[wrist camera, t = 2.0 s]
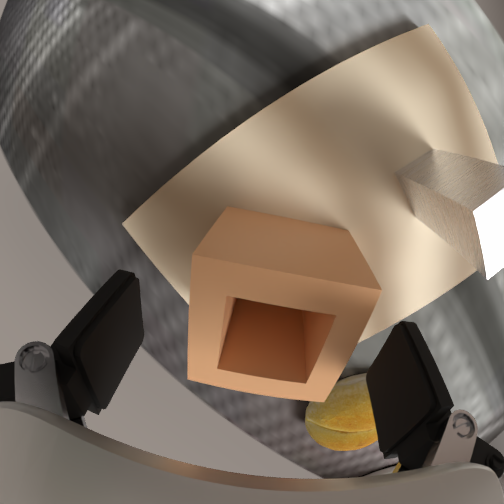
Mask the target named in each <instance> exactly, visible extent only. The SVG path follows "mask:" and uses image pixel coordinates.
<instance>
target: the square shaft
mask: <svg viewBox="0 0 504 504" xmlns="http://www.w3.org/2000/svg"><path fill="white" fill-rule="evenodd" d="M394 173H395V175H396V177H397V179H398V181H399V183H400V185H401V187H402V189H403V191H404V194H405V196H406V198H407V200H408V202H409V205H410V207H411V209H412V211H413V214H414V216H415V218H417V219H418V220H419V221H421V222H422V223H423V224H425V225H426V226H427V227H428V228H430V229H431V230H432V231H433V232H435V233H436V234H437V235H438V236H439V237H441V238H442V239H443V240H444V241H445V242H447V243H448V244H449V245H450V246H451V247H452V248H454V249H455V250H456V251H457V252H458V253H459V254H460V255H462V256H463V257H464V258H465V259H466V260H467V261H468V262H469V263H470V264H471V265H473V266H474V267H475V268H476V269H477V270H478V271H479V272H480V273H481V274H482V275H483V276H484V277H485V278H486V279H487V280H488V279H489V278H490V277H492V276H493V275H494V274H495V273H497V272H498V271H499V270H500V269H501V268H503V267H504V166H502V165H499V164H495V163H492V162H488V161H484V160H481V159H477V158H473V157H469V156H465V155H461V154H456V153H452V152H447V151H442V150H437V149H431V150H430V151H428V152H427V153H425V154H423V155H422V156H420V157H419V158H417V159H415V160H414V161H412V162H411V163H409V164H407V165H406V166H404V167H402V168H401V169H399V170H398V171H396V172H394Z"/></svg>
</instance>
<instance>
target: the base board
mask: <svg viewBox="0 0 504 504" xmlns="http://www.w3.org/2000/svg"><path fill="white" fill-rule="evenodd" d="M431 149H437V150H442V151H447V152H452V153H456V154H461V155H465V156H469V157H473V158H477V159H481V160H484V161H488V162H492V163H495V164H498V162H497V159H496V156H495V153H494V150H493V147H492V144H491V141H490V138H489V136H488V133H487V130H486V128H485V125H484V123H483V120H482V118H481V116H480V113H479V111H478V109H477V106H476V104H475V102H474V100H473V98H472V96H471V94H470V92H469V89H468V87H467V86H466V84H465V82H464V80H463V78H462V76H461V74H460V72H459V71H458V69H457V67H456V65H455V64H454V62H453V60H452V59H451V57H450V55H449V54H448V52H447V50H446V49H445V47H444V46H443V44H442V43H441V41H440V40H439V38H438V37H437V35H436V34H435V32H434V31H433V29H432V28H431V27H430V25H429V24H427V25H424V26H421V27H419V28H416V29H413V30H411V31H408V32H406V33H403V34H401V35H398V36H396V37H394V38H391V39H389V40H387V41H384V42H382V43H380V44H378V45H376V46H373V47H371V48H369V49H367V50H365V51H363V52H361V53H359V54H357V55H355V56H353V57H351V58H349V59H347V60H345V61H343V62H341V63H339V64H337V65H336V66H334V67H332V68H330V69H328V70H326V71H325V72H323V73H321V74H319V75H317V76H316V77H314V78H312V79H310V80H309V81H307V82H305V83H304V84H302V85H300V86H299V87H297V88H295V89H294V90H292V91H290V92H289V93H287V94H286V95H284V96H282V97H281V98H279V99H278V100H276V101H275V102H273V103H272V104H270V105H269V106H267V107H265V108H264V109H262V110H261V111H260V112H258V113H257V114H255V115H254V116H252V117H251V118H249V119H248V120H246V121H245V122H244V123H242V124H241V125H239V126H238V127H237V128H235V129H234V130H232V131H231V132H230V133H228V134H227V135H226V136H224V137H223V138H222V139H220V140H219V141H218V142H216V143H215V144H214V145H212V146H211V147H210V148H208V149H207V150H206V151H205V152H203V153H202V154H201V155H199V156H198V157H197V158H196V159H194V160H193V161H192V162H191V163H190V164H188V165H187V166H186V167H185V168H183V169H182V170H181V171H180V172H179V173H177V174H176V175H175V176H174V177H173V178H172V179H170V180H169V181H168V182H167V183H166V184H165V185H163V186H162V187H161V188H160V189H159V190H158V191H157V192H155V193H154V194H153V195H152V196H151V197H150V198H149V199H148V200H147V201H146V202H144V203H143V204H142V205H141V206H140V207H139V208H138V209H137V210H136V211H135V212H134V213H133V214H132V215H131V216H130V217H128V218H127V219H126V220H125V221H124V222H123V223H122V225H123V226H124V227H125V229H126V230H127V231H128V232H129V234H130V235H131V236H132V238H133V239H134V240H135V241H136V243H137V244H138V245H139V246H140V248H141V249H142V250H143V251H144V253H145V254H146V255H147V256H148V258H149V259H150V260H151V261H152V262H153V264H154V265H155V266H156V267H157V268H158V270H159V271H160V272H161V273H162V274H163V276H164V277H165V278H166V279H167V280H168V281H169V283H170V284H171V285H172V286H173V287H174V288H175V289H176V291H177V292H178V293H179V294H180V295H181V296H182V297H183V299H184V300H185V301H186V302H187V303H188V304H189V299H190V280H191V264H192V254H193V252H194V251H195V250H196V248H197V247H198V245H199V244H200V243H201V241H202V240H203V238H204V237H205V236H206V234H207V233H208V232H209V230H210V229H211V227H212V226H213V225H214V223H215V222H216V221H217V219H218V218H219V217H220V215H221V214H222V213H223V211H224V210H225V209H226V207H227V206H228V207H234V208H240V209H245V210H251V211H256V212H261V213H266V214H272V215H277V216H282V217H287V218H292V219H297V220H302V221H307V222H311V223H316V224H321V225H325V226H330V227H335V228H339V229H344V230H348V231H349V232H350V234H351V235H352V237H353V239H354V240H355V242H356V244H357V246H358V247H359V249H360V251H361V253H362V254H363V256H364V258H365V260H366V261H367V263H368V265H369V267H370V269H371V270H372V272H373V274H374V276H375V278H376V280H377V281H378V283H379V285H380V287H381V289H382V292H381V294H380V297H379V299H378V301H377V303H376V306H375V308H374V310H373V312H372V315H371V317H370V319H369V321H368V323H367V325H366V327H365V329H364V331H363V333H362V335H361V337H360V339H359V341H358V343H359V342H361V341H363V340H365V339H367V338H369V337H371V336H373V335H374V334H376V333H378V332H380V331H382V330H384V329H386V328H387V327H389V326H391V325H393V324H395V323H396V322H398V321H400V320H402V319H403V318H405V317H407V316H409V315H410V314H412V313H414V312H415V311H417V310H419V309H420V308H422V307H424V306H425V305H427V304H428V303H430V302H432V301H433V300H435V299H436V298H438V297H439V296H441V295H442V294H444V293H445V292H447V291H448V290H450V289H451V288H453V287H454V286H456V285H457V284H459V283H460V282H461V281H463V280H464V279H466V278H467V277H468V276H470V275H471V274H472V273H474V272H475V271H476V270H477V269H476V268H475V267H474V266H473V265H471V264H470V263H469V262H468V261H467V260H466V259H465V258H464V257H463V256H462V255H460V254H459V253H458V252H457V251H456V250H455V249H454V248H452V247H451V246H450V245H449V244H448V243H447V242H445V241H444V240H443V239H442V238H441V237H439V236H438V235H437V234H436V233H435V232H433V231H432V230H431V229H430V228H428V227H427V226H426V225H425V224H423V223H422V222H421V221H419V220H418V219H417V218H415V216H414V214H413V211H412V209H411V207H410V205H409V202H408V200H407V198H406V196H405V194H404V191H403V189H402V187H401V185H400V183H399V181H398V179H397V177H396V175H395V173H394V172H396V171H398V170H399V169H401V168H402V167H404V166H406V165H407V164H409V163H411V162H412V161H414V160H415V159H417V158H419V157H420V156H422V155H423V154H425V153H427V152H428V151H430V150H431Z"/></svg>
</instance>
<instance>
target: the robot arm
mask: <svg viewBox="0 0 504 504" xmlns="http://www.w3.org/2000/svg"><path fill="white" fill-rule="evenodd" d="M143 338H144V329H143V320H142V310H141V299H140V285H139V279H138V278H136V277H135V274H134V273H132V272H128V271H124V270H118V271H117V272H116V273H115V274H114V275H113V276H112V277H111V278H110V279H109V280H108V281H107V282H106V283H105V284H104V285H103V286H102V287H101V288H100V289H99V290H98V291H97V293H96V294H95V295H94V296H93V297H92V298H91V299H90V300H89V301H88V302H87V303H86V305H85V306H84V307H83V308H82V309H81V311H79V312H78V314H77V315H76V316H75V317H74V318H73V319H72V320H71V322H70V323H69V324H68V325H67V326H66V328H65V329H64V330H63V331H62V332H61V333H60V335H59V336H58V337H57V338H56V339H55V341H54V342H53V344H52V345H51V346H49V345H47V344H46V343H43V342H39V341H38V342H30V343H27V344H26V345H24V346H22V347H21V348H20V349H19V351H18V352H17V354H16V357H15V361H14V362H10V363H5V364H0V504H504V457H503V456H502V454H501V453H500V452H499V451H498V450H497V449H495V448H494V447H492V446H491V445H489V444H488V443H486V442H485V441H483V440H482V439H480V438H479V437H477V433H478V426H477V423H476V420H475V418H474V417H473V416H472V415H471V414H470V413H469V412H467V411H465V410H460V409H459V410H455V411H454V412H453V413H451V411H450V409H451V408H452V407H453V406H454V404H453V402H452V399H451V397H450V394H449V392H448V390H447V387H446V385H445V383H444V380H443V378H442V376H441V374H440V371H439V369H438V367H437V365H436V363H435V361H434V358H433V356H432V354H431V352H430V350H429V348H428V346H427V344H426V342H425V340H424V338H423V336H422V334H421V332H420V330H419V329H418V327H417V325H416V324H415V323H414V322H406V321H401V322H399V324H397V325H395V326H394V328H393V329H392V331H391V333H390V335H389V337H388V338H387V340H386V342H385V344H384V345H383V347H382V349H381V351H380V352H379V354H378V356H377V357H376V359H375V360H374V362H373V364H372V365H371V367H370V368H369V370H368V372H367V374H366V383H367V388H368V392H369V396H370V401H371V406H372V411H373V416H374V421H375V426H376V431H377V437H378V442H379V448H380V451H381V452H383V454H384V459H389V458H396V457H398V458H399V462H398V464H397V465H396V466H392V467H389V468H385V469H382V470H379V471H376V472H373V473H371V474H368V475H366V476H363V477H355V478H338V479H292V478H276V477H264V476H254V475H247V474H240V473H233V472H227V471H221V470H216V469H211V468H206V467H201V466H197V465H192V464H188V463H184V462H180V461H176V460H172V459H169V458H166V457H162V456H159V455H156V454H152V453H149V452H146V451H143V450H141V449H137V448H134V447H132V446H129V445H127V444H124V443H121V442H119V441H116V440H114V439H111V438H108V437H106V436H104V435H101V434H99V433H97V432H94V431H92V430H90V429H88V428H87V426H86V422H85V418H84V415H85V414H86V412H87V410H89V411H91V412H93V413H95V414H98V415H99V413H100V411H101V409H106V407H107V406H108V404H109V402H110V401H111V398H112V397H113V395H114V393H115V391H116V389H117V387H118V385H119V383H120V382H121V380H122V378H123V376H124V374H125V372H126V370H127V369H128V367H129V365H130V363H131V361H132V359H133V358H134V356H135V354H136V352H137V351H138V349H139V347H140V345H141V344H142V341H143Z"/></svg>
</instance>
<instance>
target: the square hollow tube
mask: <svg viewBox="0 0 504 504" xmlns="http://www.w3.org/2000/svg"><path fill="white" fill-rule="evenodd" d="M381 292H382V289H381V287H380V285H379V283H378V281H377V280H376V278H375V276H374V274H373V272H372V270H371V269H370V267H369V265H368V263H367V261H366V260H365V258H364V256H363V254H362V253H361V251H360V249H359V247H358V246H357V244H356V242H355V240H354V239H353V237H352V235H351V234H350V232H349V231H348V230H344V229H339V228H335V227H330V226H325V225H321V224H316V223H311V222H307V221H302V220H297V219H292V218H287V217H282V216H277V215H272V214H266V213H261V212H256V211H251V210H245V209H240V208H234V207H228V206H227V207H226V209H225V210H224V211H223V213H222V214H221V215H220V217H219V218H218V219H217V221H216V222H215V223H214V225H213V226H212V227H211V229H210V230H209V232H208V233H207V234H206V236H205V237H204V238H203V240H202V241H201V243H200V244H199V245H198V247H197V248H196V250H195V251H194V252H193V254H192V264H191V280H190V299H189V325H188V379H189V380H193V381H197V382H201V383H205V384H209V385H213V386H218V387H222V388H227V389H232V390H237V391H242V392H248V393H254V394H260V395H266V396H272V397H279V398H287V399H295V400H304V401H314V402H325V400H326V398H327V397H328V395H329V394H330V392H331V390H332V389H333V387H334V385H335V383H336V382H337V380H338V378H339V377H340V375H341V373H342V371H343V370H344V368H345V366H346V364H347V362H348V360H349V359H350V357H351V355H352V353H353V351H354V349H355V347H356V345H357V343H358V341H359V339H360V337H361V335H362V333H363V331H364V329H365V327H366V325H367V323H368V321H369V319H370V317H371V315H372V312H373V310H374V308H375V306H376V303H377V301H378V299H379V297H380V294H381Z"/></svg>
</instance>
